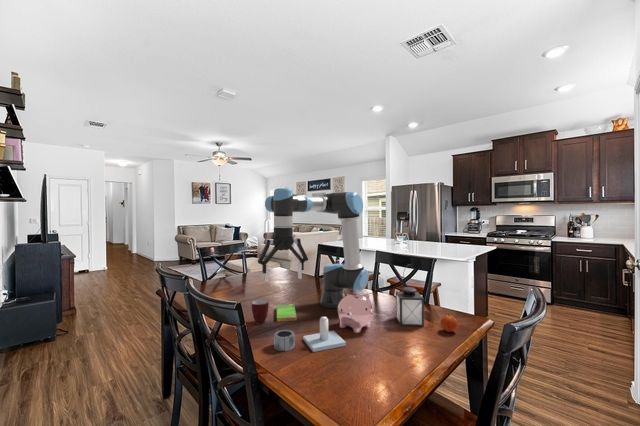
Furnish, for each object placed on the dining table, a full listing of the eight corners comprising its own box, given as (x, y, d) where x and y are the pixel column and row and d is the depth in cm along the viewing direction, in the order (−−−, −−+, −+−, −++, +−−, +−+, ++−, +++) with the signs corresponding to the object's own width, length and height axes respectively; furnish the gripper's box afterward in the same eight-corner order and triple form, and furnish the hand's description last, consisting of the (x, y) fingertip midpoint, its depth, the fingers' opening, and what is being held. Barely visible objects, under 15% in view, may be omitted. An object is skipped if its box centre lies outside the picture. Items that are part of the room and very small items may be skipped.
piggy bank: (363, 338, 125) (363, 300, 125) (331, 327, 137) (330, 293, 137) (381, 327, 136) (381, 293, 136) (350, 318, 148) (350, 286, 148)
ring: (291, 340, 123) (291, 328, 123) (296, 348, 116) (296, 336, 116) (272, 343, 120) (272, 331, 120) (277, 352, 113) (276, 339, 113)
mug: (266, 327, 137) (265, 306, 137) (248, 327, 137) (248, 306, 137) (269, 319, 147) (269, 299, 147) (253, 319, 147) (253, 299, 147)
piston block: (333, 334, 129) (333, 310, 129) (345, 345, 118) (345, 320, 118) (303, 339, 124) (303, 315, 124) (313, 352, 113) (313, 325, 113)
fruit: (456, 329, 133) (456, 311, 133) (458, 335, 127) (458, 317, 127) (440, 327, 136) (440, 310, 136) (441, 333, 129) (441, 315, 129)
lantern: (418, 318, 148) (417, 262, 148) (424, 326, 137) (423, 266, 137) (395, 317, 149) (395, 262, 149) (399, 326, 138) (399, 266, 138)
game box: (276, 323, 144) (276, 308, 165) (296, 322, 146) (293, 307, 166) (276, 317, 144) (276, 302, 164) (296, 316, 146) (293, 302, 166)
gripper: (309, 225, 126) (309, 275, 126) (250, 227, 117) (250, 280, 117) (315, 226, 119) (315, 279, 119) (253, 228, 110) (253, 284, 110)
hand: (283, 279), depth 118 cm, fingers open, 13 cm apart
